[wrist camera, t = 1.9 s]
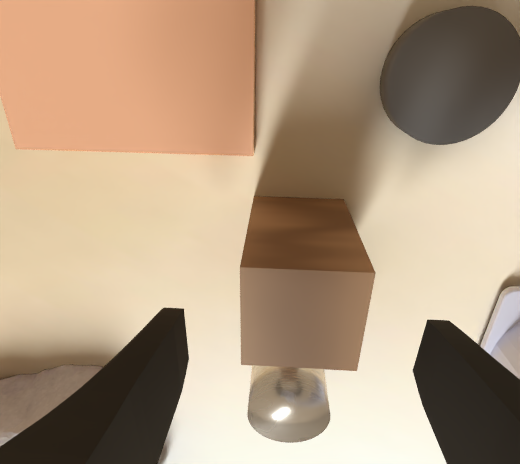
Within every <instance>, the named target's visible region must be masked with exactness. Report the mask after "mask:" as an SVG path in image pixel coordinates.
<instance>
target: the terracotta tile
mask: <svg viewBox="0 0 520 464" xmlns="http://www.w3.org/2000/svg"><path fill="white" fill-rule="evenodd" d="M0 96H1V99H2V103H3V106H4V110H5V113H6V117H7V120H8V123H9V127H10V130H11V134H12V137H13V141H14V144H15V147H16V149H32V150H66V151H101V152H135V153H170V154H204V155H239V156H253V155H254V122H255V0H0Z"/></svg>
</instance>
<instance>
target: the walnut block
mask: <svg viewBox="0 0 520 464" xmlns="http://www.w3.org/2000/svg"><path fill="white" fill-rule="evenodd" d="M374 278H375V271H374V269H373V266H372V264H371V262H370V259H369V257H368V255H367V252H366V250H365V248H364V245H363V243H362V241H361V238H360V236H359V234H358V231H357V229H356V227H355V224H354V222H353V220H352V217H351V215H350V213H349V211H348V208H347V206H346V204H345V201H344V199H319V198H289V197H260V196H254V199H253V204H252V209H251V214H250V219H249V224H248V229H247V234H246V240H245V245H244V250H243V255H242V260H241V265H240V305H241V365H256V366H275V367H293V368H312V369H331V370H349V371H357V367H358V362H359V357H360V352H361V346H362V341H363V336H364V331H365V325H366V320H367V315H368V309H369V304H370V299H371V294H372V288H373V283H374Z"/></svg>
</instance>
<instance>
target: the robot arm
mask: <svg viewBox="0 0 520 464" xmlns="http://www.w3.org/2000/svg"><path fill="white" fill-rule="evenodd" d="M188 360H189V356H188V346H187V337H186V327H185V317H184V309H179V308H163V309H162V310H161V311H160V312H159V313H158V314H157V315H156V316H155V317H154V318H153V319H152V320H151V321H150V322H149V323H148V324H147V325H146V326H145V327H144V328H143V329H142V330H141V331H140V332H139V333H138V334H137V335H136V336H135V337H134V338H133V339H132V340H131V341H130V342H129V343H128V344H127V345H126V346H125V347H124V348H123V349H122V350H121V351H120V352H119V353H118V354H117V355H116V356H115V357H114V358H113V359H112V360H111V361H110V362H109V363H108V364H107V365H105V366H104V367H103V368H102V369H101V370H100V371H99V372H98V373H96V374H95V375H94V376H93V377H92V378H91V379H90V380H89V381H87V382H86V383H85V384H84V385H83V386H82V387H80V388H79V389H78V390H77V391H76V392H74V393H73V394H72V395H71V396H70V397H68V398H67V399H66V400H65V401H63V402H62V403H61V404H59V405H58V406H57V407H56V408H54V409H53V410H52V411H50V412H49V413H48V414H46V415H45V416H44V417H42V418H41V419H39V420H38V421H37V422H35V423H34V424H32V425H31V426H29V427H28V428H26V429H25V430H23V431H22V432H21V433H19V434H18V435H16V436H15V437H13V438H12V439H10V440H9V441H7V442H6V443H5V444H3V445H2V446H0V464H157V463H158V460H159V457H160V454H161V451H162V448H163V445H164V442H165V439H166V437H167V434H168V431H169V428H170V425H171V422H172V419H173V416H174V413H175V410H176V407H177V404H178V401H179V398H180V395H181V392H182V388H183V384H184V379H185V375H186V370H187V365H188ZM413 373H414V376H415V380H416V384H417V388H418V391H419V395H420V398H421V401H422V405H423V407H424V410H425V412H426V415H427V417H428V420H429V422H430V424H431V427H432V429H433V432H434V434H435V436H436V439H437V441H438V443H439V446H440V448H441V451H442V453H443V455H444V458H445V460H446V462H447V464H520V286H511V287H508V288H505V289H504V290H503V291H502V292H501V294H500V296H499V299H498V301H497V304H496V306H495V309H494V311H493V314H492V317H491V319H490V322H489V324H488V327H487V329H486V332H485V335H484V337H483V340H482V342H481V345H480V346H479V345H478V344H477V343H476V342H474V341H473V340H472V339H471V338H470V337H468V336H467V335H466V334H465V333H464V332H462V331H461V330H460V329H459V328H458V327H456V326H455V325H454V324H452V323H451V322H450V321H445V320H427V323H426V327H425V330H424V333H423V337H422V340H421V344H420V347H419V351H418V354H417V358H416V361H415V365H414V368H413Z"/></svg>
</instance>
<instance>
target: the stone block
mask: <svg viewBox="0 0 520 464" xmlns="http://www.w3.org/2000/svg"><path fill="white" fill-rule="evenodd" d="M102 368H103V367H101V366H93V365H91V366H79V365H62V366H59V367H56V368H53V369H49V370H43V371H42V372H40V373H37V374H23V375H16V376H12V377H9V378H6V379H0V446H2V445H3V444H5V443H6V442H7V441H9V440H10V439H12V438H13V437H15V436H16V435H18V434H19V433H21V432H22V431H23V430H25V429H26V428H28V427H29V426H31V425H32V424H34V423H35V422H37V421H38V420H39V419H41V418H42V417H44V416H45V415H46V414H48V413H49V412H50V411H52V410H53V409H54V408H56V407H57V406H58V405H59V404H61V403H62V402H63V401H65V400H66V399H67V398H68V397H70V396H71V395H72V394H73V393H74V392H76V391H77V390H78V389H79V388H80V387H82V386H83V385H84V384H85V383H86V382H87V381H89V380H90V379H91V378H92V377H93V376H94V375H95V374H96V373H98V372H99V371H100V370H101V369H102Z"/></svg>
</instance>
